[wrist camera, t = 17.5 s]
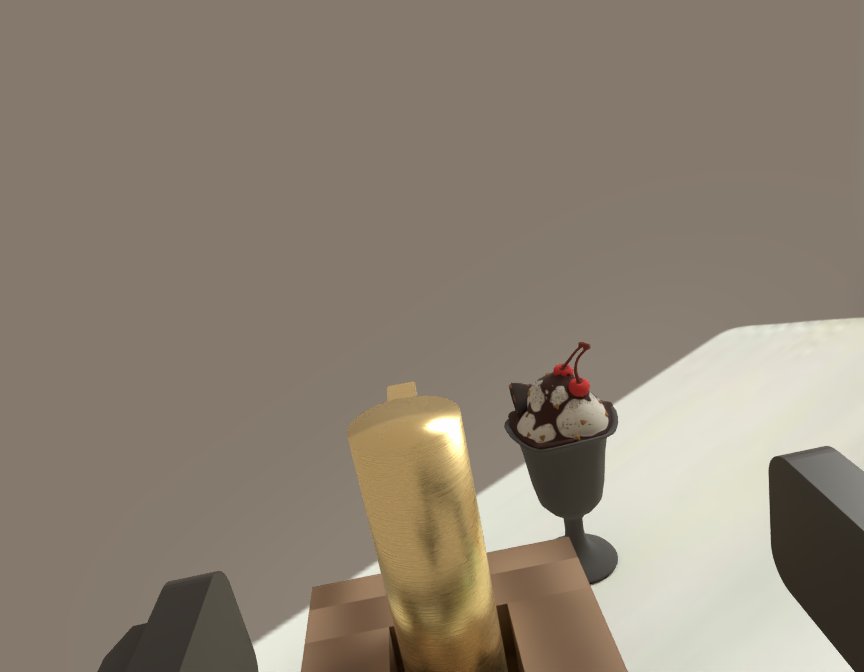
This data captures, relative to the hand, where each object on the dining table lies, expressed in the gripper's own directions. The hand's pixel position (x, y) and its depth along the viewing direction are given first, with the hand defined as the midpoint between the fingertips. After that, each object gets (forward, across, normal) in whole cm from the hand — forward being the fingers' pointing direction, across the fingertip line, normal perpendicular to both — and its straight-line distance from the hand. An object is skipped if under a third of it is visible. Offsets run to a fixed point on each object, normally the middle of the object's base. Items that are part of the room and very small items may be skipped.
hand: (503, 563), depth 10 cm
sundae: (+28, -6, +24) cm, 37 cm away
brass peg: (+15, +2, +23) cm, 28 cm away
